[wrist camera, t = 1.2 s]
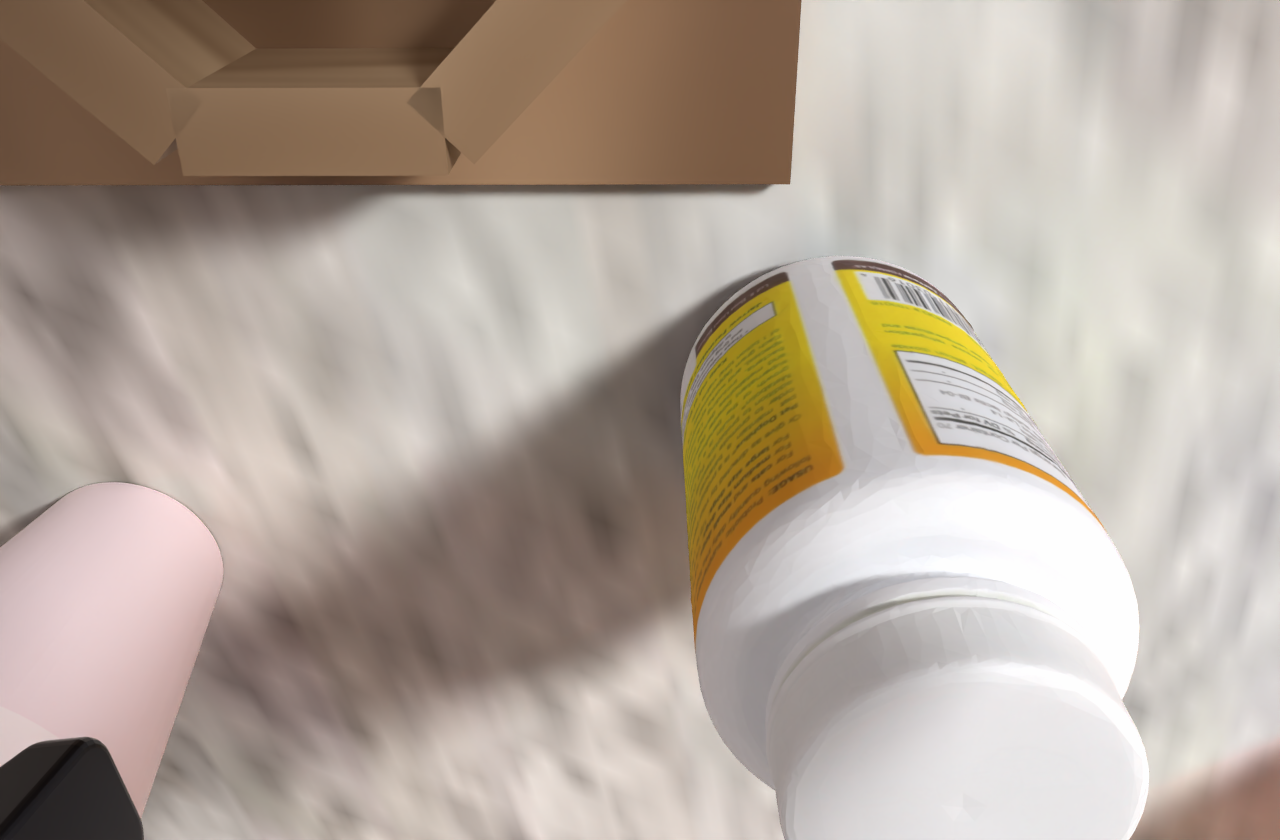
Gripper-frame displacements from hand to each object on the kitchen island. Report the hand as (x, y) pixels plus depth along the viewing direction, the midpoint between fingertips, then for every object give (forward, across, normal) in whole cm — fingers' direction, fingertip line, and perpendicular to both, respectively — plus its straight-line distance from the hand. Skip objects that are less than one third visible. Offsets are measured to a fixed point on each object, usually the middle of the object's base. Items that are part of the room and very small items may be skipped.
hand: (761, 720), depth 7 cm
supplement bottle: (+13, -2, +4) cm, 14 cm away
